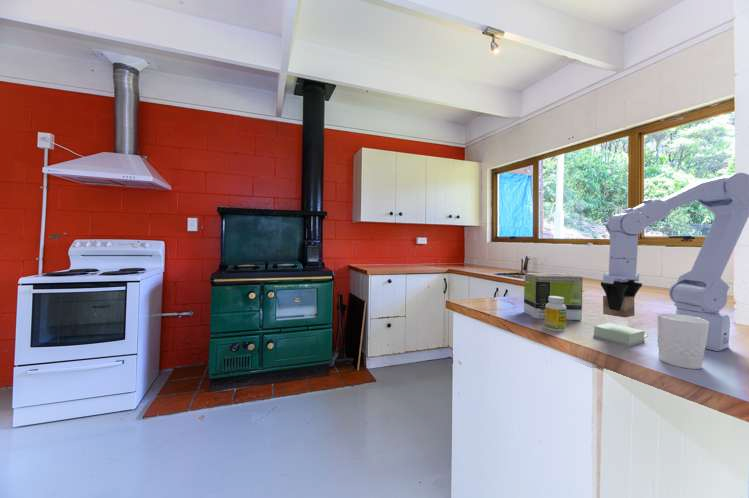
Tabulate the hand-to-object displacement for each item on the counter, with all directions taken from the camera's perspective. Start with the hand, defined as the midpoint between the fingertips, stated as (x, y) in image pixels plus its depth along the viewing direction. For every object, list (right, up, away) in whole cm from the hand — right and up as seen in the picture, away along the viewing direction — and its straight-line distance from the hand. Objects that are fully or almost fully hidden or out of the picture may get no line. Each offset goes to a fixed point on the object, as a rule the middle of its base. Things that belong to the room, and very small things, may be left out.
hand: (619, 308), depth 82 cm
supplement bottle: (-12, -8, +9) cm, 17 cm away
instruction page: (+6, -8, +6) cm, 12 cm away
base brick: (0, -8, 0) cm, 8 cm away
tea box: (-5, -8, +24) cm, 26 cm away
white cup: (+1, -9, -15) cm, 17 cm away
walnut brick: (0, -2, 0) cm, 2 cm away
